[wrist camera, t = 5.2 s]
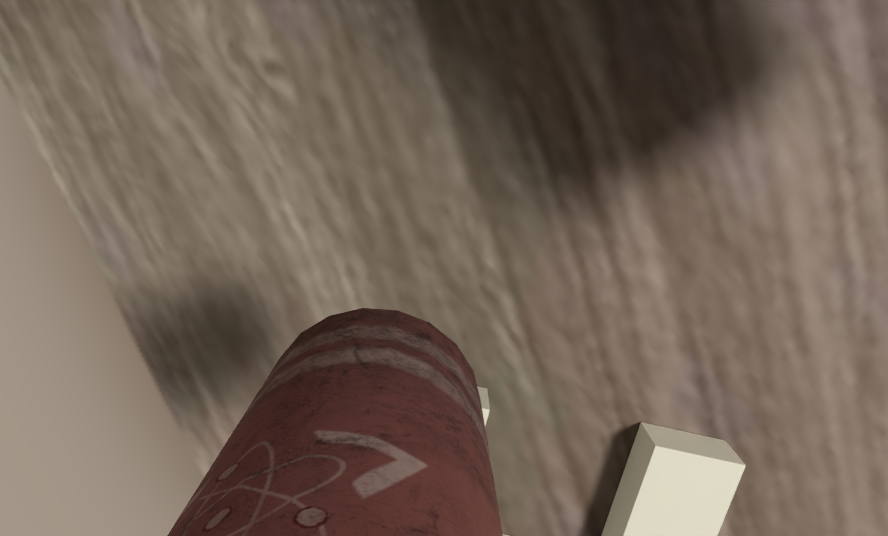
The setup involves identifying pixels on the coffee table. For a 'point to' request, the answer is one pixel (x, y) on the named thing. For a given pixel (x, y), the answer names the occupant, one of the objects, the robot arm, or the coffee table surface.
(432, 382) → the can
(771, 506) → the coffee table surface
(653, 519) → the u-shaped block
